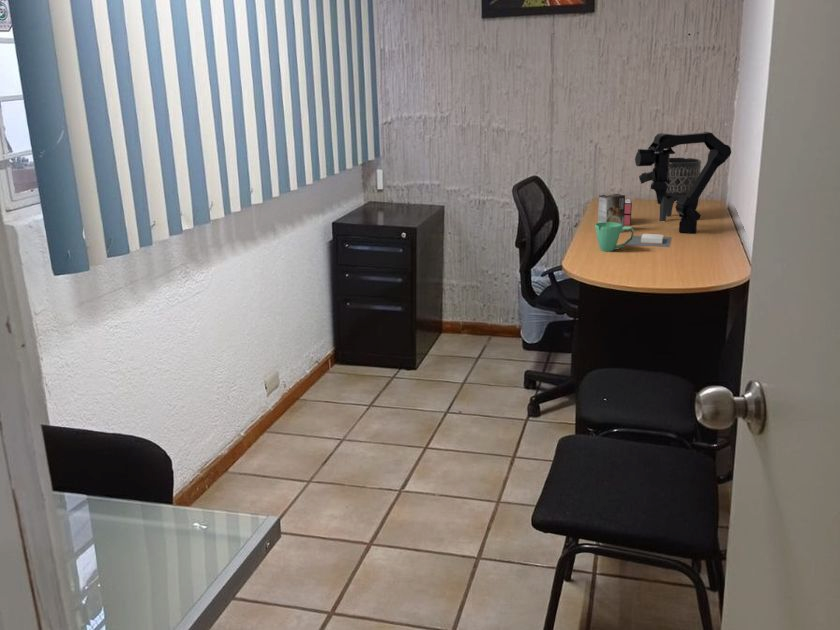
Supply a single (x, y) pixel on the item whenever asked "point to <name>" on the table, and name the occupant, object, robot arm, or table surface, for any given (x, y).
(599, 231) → the mug
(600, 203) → the coffee box
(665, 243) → the mat
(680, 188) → the planter
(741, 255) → the table surface
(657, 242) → the tile
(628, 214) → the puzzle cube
